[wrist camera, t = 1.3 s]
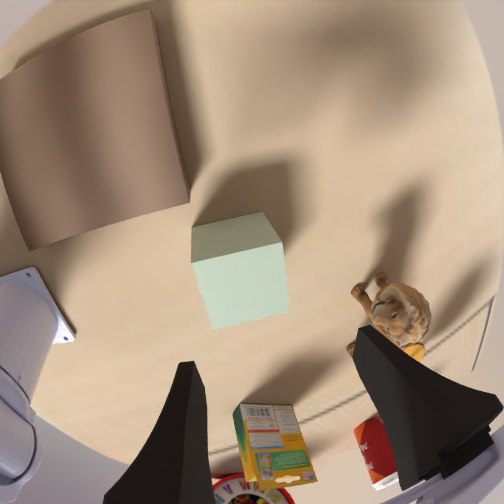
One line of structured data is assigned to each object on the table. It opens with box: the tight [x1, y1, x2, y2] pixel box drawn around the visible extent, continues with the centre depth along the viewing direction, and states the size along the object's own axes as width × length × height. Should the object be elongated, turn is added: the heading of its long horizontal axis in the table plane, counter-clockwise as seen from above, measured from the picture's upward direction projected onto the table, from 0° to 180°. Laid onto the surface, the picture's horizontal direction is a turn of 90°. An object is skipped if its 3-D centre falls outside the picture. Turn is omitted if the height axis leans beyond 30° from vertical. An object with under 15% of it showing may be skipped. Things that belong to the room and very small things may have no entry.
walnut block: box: [0, 8, 191, 251], centre depth 14 cm, size 12×12×3 cm
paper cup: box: [354, 417, 399, 490], centre depth 37 cm, size 8×8×14 cm
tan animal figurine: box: [347, 273, 431, 357], centre depth 23 cm, size 15×5×9 cm, turn 18°
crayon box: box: [233, 403, 317, 490], centre depth 27 cm, size 7×3×12 cm, turn 68°
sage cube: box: [191, 212, 290, 330], centre depth 19 cm, size 5×5×5 cm
